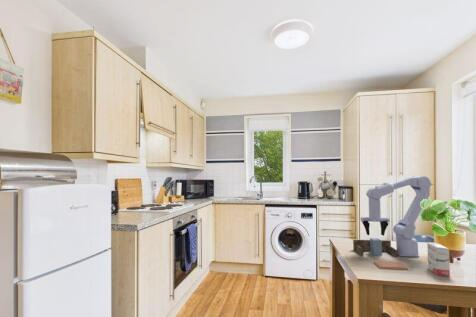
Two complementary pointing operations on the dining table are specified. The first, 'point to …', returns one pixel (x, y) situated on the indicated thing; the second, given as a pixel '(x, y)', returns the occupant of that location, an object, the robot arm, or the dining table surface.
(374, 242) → the block
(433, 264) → the ink box
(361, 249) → the wooden u-shaped rack
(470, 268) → the dining table surface
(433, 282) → the dining table surface
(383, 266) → the tile
